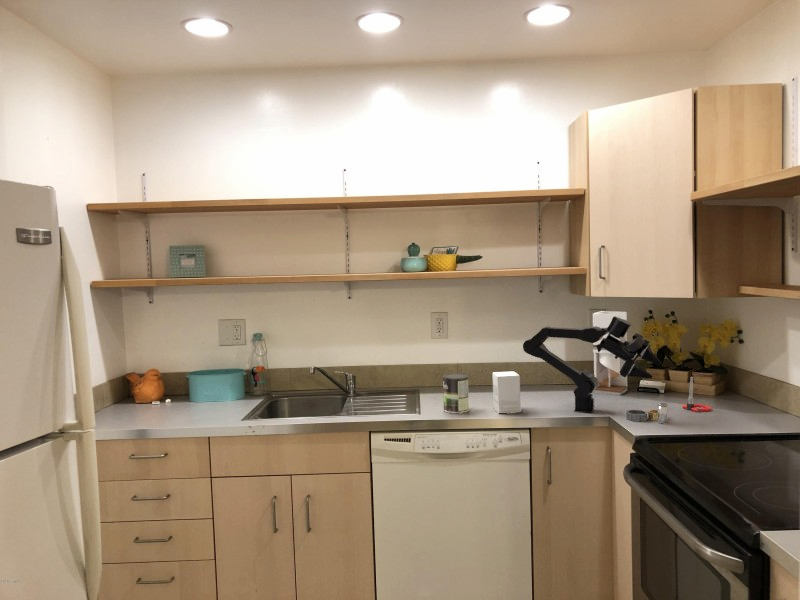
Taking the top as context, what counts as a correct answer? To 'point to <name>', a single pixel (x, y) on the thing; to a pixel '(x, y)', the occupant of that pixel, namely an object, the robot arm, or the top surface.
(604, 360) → the spiral ramp tower
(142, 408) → the top surface
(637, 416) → the wide steel socket
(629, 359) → the robot arm
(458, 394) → the coffee can
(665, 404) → the round-tipped metal peg
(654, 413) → the small brass socket
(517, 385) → the supplement box
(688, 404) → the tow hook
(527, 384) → the top surface
